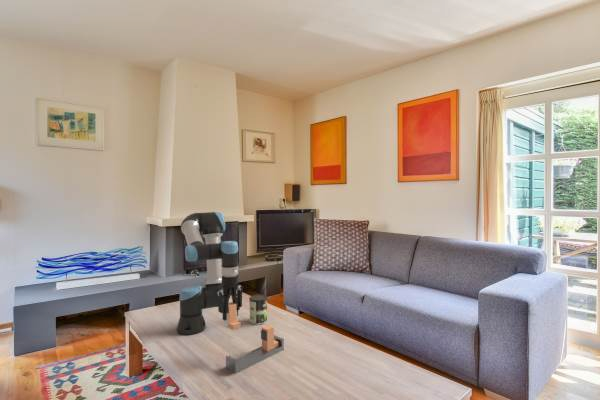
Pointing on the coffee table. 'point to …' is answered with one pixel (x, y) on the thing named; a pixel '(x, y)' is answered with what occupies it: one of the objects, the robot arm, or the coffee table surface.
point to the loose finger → (233, 316)
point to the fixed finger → (268, 338)
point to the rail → (252, 357)
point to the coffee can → (258, 309)
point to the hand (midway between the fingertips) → (230, 324)
